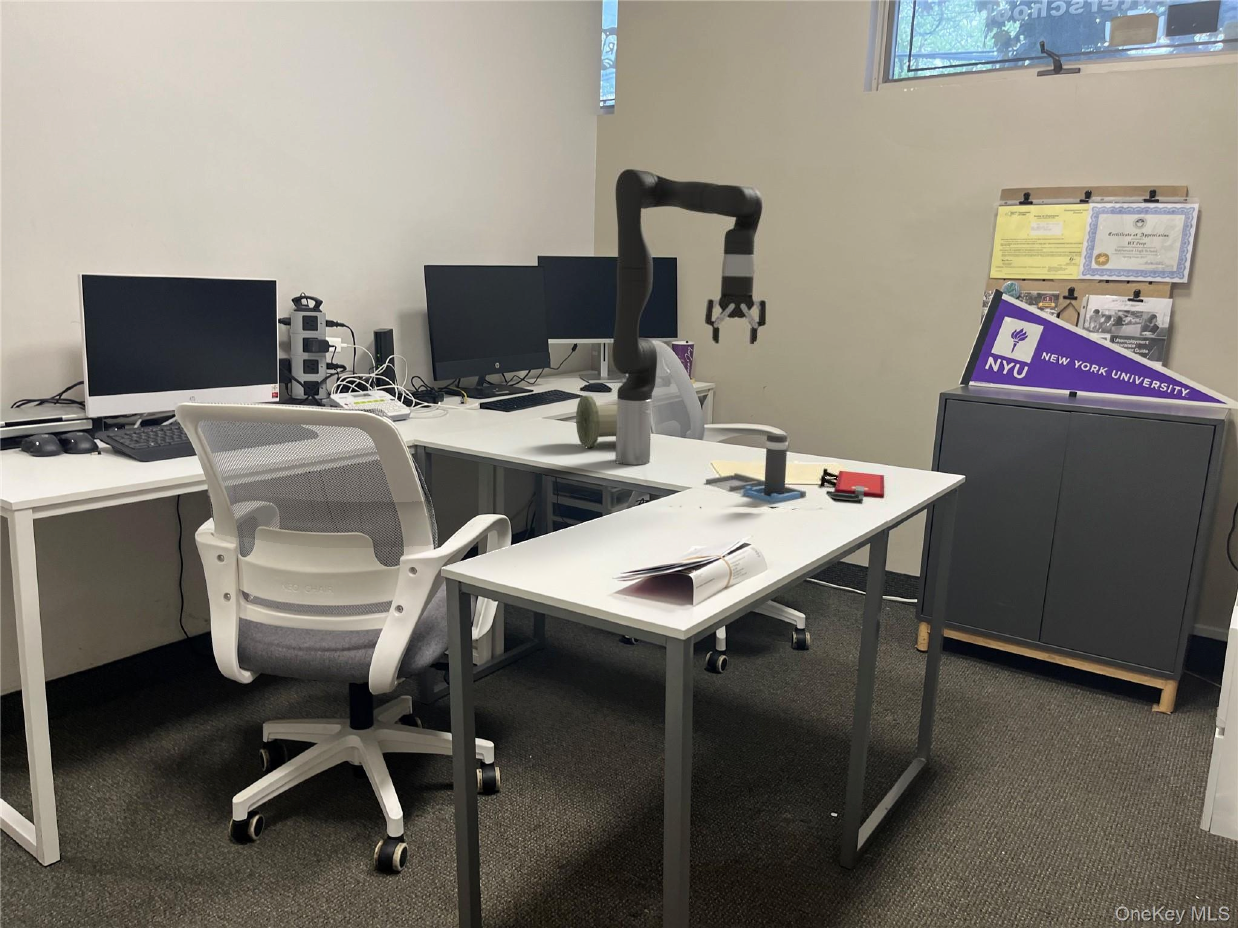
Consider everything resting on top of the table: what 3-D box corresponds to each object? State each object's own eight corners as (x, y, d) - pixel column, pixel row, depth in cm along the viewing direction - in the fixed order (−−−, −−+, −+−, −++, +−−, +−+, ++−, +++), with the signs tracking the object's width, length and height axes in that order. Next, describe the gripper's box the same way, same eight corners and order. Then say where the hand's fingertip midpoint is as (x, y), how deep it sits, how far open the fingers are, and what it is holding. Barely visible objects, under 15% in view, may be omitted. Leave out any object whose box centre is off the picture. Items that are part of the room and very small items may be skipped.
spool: (593, 452, 253) (594, 400, 249) (575, 442, 266) (576, 392, 263) (646, 449, 259) (648, 398, 256) (626, 439, 272) (627, 391, 269)
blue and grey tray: (704, 488, 214) (704, 476, 213) (736, 482, 220) (737, 470, 220) (772, 508, 197) (773, 495, 196) (805, 501, 204) (806, 488, 203)
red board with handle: (816, 500, 206) (883, 507, 202) (817, 488, 205) (885, 495, 202) (824, 474, 234) (883, 480, 230) (825, 463, 234) (884, 469, 230)
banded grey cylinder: (766, 498, 201) (769, 437, 198) (761, 492, 206) (764, 433, 202) (786, 498, 201) (790, 437, 198) (781, 492, 206) (785, 433, 203)
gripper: (764, 275, 214) (760, 343, 218) (705, 273, 214) (702, 341, 217) (770, 275, 207) (766, 345, 211) (710, 274, 206) (707, 344, 210)
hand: (734, 343), depth 214 cm, fingers open, 8 cm apart
